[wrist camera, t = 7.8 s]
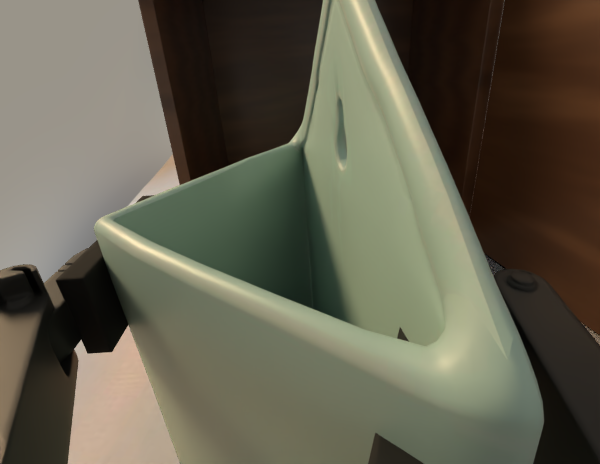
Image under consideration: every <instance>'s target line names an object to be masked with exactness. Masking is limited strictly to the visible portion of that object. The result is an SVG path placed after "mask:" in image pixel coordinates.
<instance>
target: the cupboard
mask: <svg viewBox="0 0 600 464" xmlns="http://www.w3.org/2000/svg"><path fill="white" fill-rule="evenodd" d="M138 1H139V5H140V10H141V14H142V19H143V23H144V28H145V32H146V37H147V41H148V45H149V49H150V54H151V59H152V63H153V68H154V72H155V76H156V81H157V85H158V89H159V94H160V98H161V103H162V107H163V112H164V116H165V121H166V125H167V130H168V134H169V139H170V143H171V148H172V152H173V156H174V161H175V165H176V170H177V174H178V179H179V183H180V185H182V184H184V183H187V182H189V181H192V180H194V179H197V178H199V177H202V176H204V175H207V174H209V173H212V172H214V171H217V170H219V169H222V168H224V167H227V166H229V165H232V164H234V163H237V162H239V161H241V160H244V159H246V158H249V157H252V156H254V155H257V154H260V153H263V152H266V151H269V150H272V149H274V148H277V147H280V146H282V145H285V144H288V143H289V142H290V141H291V140H292V138H293V137H294V136H295V134H296V133H297V131H298V130H299V128H300V126H301V124H302V122H303V118H304V113H305V107H306V102H307V96H308V91H309V85H310V79H311V73H312V66H313V59H314V52H315V46H316V40H317V35H318V29H319V23H320V16H321V10H322V4H323V0H138ZM375 1H376V4H377V7H378V9H379V11H380V14H381V16H382V18H383V20H384V23H385V25H386V27H387V30H388V32H389V35H390V37H391V39H392V42H393V44H394V47H395V49H396V51H397V54H398V56H399V58H400V61H401V63H402V65H403V67H404V69H405V72H406V74H407V76H408V78H409V80H410V82H411V85H412V87H413V89H414V91H415V93H416V95H417V98H418V100H419V102H420V104H421V107H422V109H423V111H424V113H425V116H426V118H427V120H428V123H429V125H430V127H431V129H432V132H433V134H434V136H435V138H436V141H437V143H438V145H439V148H440V150H441V152H442V154H443V157H444V159H445V161H446V163H447V166H448V168H449V170H450V173H451V175H452V178H453V180H454V182H455V185H456V187H457V189H458V192H459V194H460V196H461V199H462V201H463V203H464V206H465V208H466V211H467V213H468V215H469V217H470V211H471V205H472V198H473V192H474V186H475V180H476V174H477V167H478V161H479V155H480V149H481V143H482V136H483V130H484V124H485V118H486V111H487V105H488V99H489V93H490V87H491V80H492V74H493V68H494V62H495V56H496V49H497V43H498V37H499V31H500V24H501V18H502V12H503V6H504V0H375Z"/></svg>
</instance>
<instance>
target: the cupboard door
mask: <svg viewBox="0 0 600 464" xmlns="http://www.w3.org/2000/svg"><path fill="white" fill-rule="evenodd" d="M470 220H471V223H472V225H473V228H474V230H475V233H476V235H477V237H478V240H479V242H480V245H481V247H482V250H483V252H484V253H485V254H487V255H488V256H489V257H491V258H492V259H494V260H495V261H496V262H498V263H499V264H501V265H502V266H503V267H505V268H506V269H518V270H519V269H521V270H526V271H529V272H532V273H534V274H536V275H538V276H540V277H542V278H544V279H545V280H546V281H547V282H548V283H549V284H550V285H551V286H552V287H553V289H554V290H555V291H556V292H557V294H558V295H559V296H560V297H561V299H562V300H563V301H564V302H565V303H566V305H567V306H568V307H569V308H570V310H571V311H572V312H573V313H574V314H575V316H576V317H577V318H578V319H579V321H581V322H582V323H583V324H585V325H586V326H588V327H589V328H590V329H592V330H593V331H595V332H596V333H597V334H599V335H600V0H505V1H504V7H503V14H502V20H501V26H500V32H499V38H498V45H497V51H496V57H495V63H494V69H493V76H492V82H491V88H490V94H489V100H488V107H487V113H486V119H485V125H484V131H483V138H482V144H481V150H480V156H479V163H478V169H477V175H476V181H475V187H474V194H473V200H472V206H471V212H470Z"/></svg>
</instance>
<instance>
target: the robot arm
mask: <svg viewBox="0 0 600 464" xmlns="http://www.w3.org/2000/svg"><path fill="white" fill-rule="evenodd" d="M153 196H154V195H153ZM150 197H152V196H142V197H141V198H140V199H139V200H138V201H137V202H136V203H138V202H140V201H142V200H145V199H147V198H150ZM494 279H495V281H496V284H497V286H498V288H499V290H500V292H501V295H502V297H503V299H504V301H505V304H506V306H507V308H508V310H509V312H510V315H511V317H512V319H513V321H514V323H515V326H516V328H517V330H518V332H519V335H520V337H521V340H522V342H523V345H524V347H525V350H526V352H527V355H528V357H529V360H530V363H531V365H532V368H533V371H534V374H535V377H536V379H537V383H538V386H539V390H540V394H541V398H542V401H543V412H544V424H543V429H542V432H541V436H540V440H539V444H538V447H537V451H536V455H535V458H534V462H533V464H600V345H599V344H598V343H597V342H596V340H595V339H594V338H593V337H592V335H591V334H590V333H589V332H588V330H587V329H586V328H585V327H584V326H583V324H582V323H581V322H580V321H579V319H578V318H577V317H576V316H575V314H574V313H573V312H572V311H571V310H570V308H569V307H568V306H567V305H566V303H565V302H564V301H563V300H562V299H561V297H560V296H559V295H558V294H557V292H556V291H555V290H554V289H553V287H552V286H551V285H550V284H549V283H548V282H547V281H546V280H545V279H544V278H542V277H540V276H538V275H536V274H534V273H532V272H529V271H526V270H521V269H519V270H518V269H503V270H501V271H498V272H496V274H495V275H494ZM127 326H128V322H127V319H126V317H125V314H124V311H123V309H122V306H121V304H120V301H119V298H118V296H117V293H116V290H115V288H114V285H113V283H112V280H111V277H110V274H109V271H108V269H107V266H106V263H105V260H104V257H103V254H102V252H101V249H100V246H99V243H98V240H97V241H96V242H95V243H94V244H92V245H91V246H90V247H89V248H87V249H85V250H83V251H81V252H80V253H78V254H76V255H74V256H73V257H72V258H71V259H70V260H69V261H68V262H66V263H65V265H63V266H62V267H61V268H60V269H59V270H58V272H56V273H55V274H54V275H52V276H51V278H49V279H48V280H47V281H46V282H45V283H43V281H42V279H41V276H40V274H39V272H38V270H37V268H36V266H33V265H24V264H23V265H18V266H13V267H9V268H6V269H3V270H0V464H67V463H68V454H69V445H70V435H71V426H72V416H73V407H74V398H75V388H76V379H77V369H78V357H77V355H76V352H75V350H74V348H75V347H76V346H77V344H78V343H79V342H80V340H81V339H82V342H83V344H84V346H85V349H86V351H87V353H102V352H112V351H113V349H114V348H115V346H116V344H117V343H118V341H119V339H120V338H121V336H122V334H123V333H124V331H125V329H126V328H127ZM397 339H401V340H404V341H408V342H409V340H408V339H407V337H406V336H405V334H404V332H403V331H402V329H401V327H400V328H399V332H398V337H397ZM368 464H424V463H422V462H421V461H419V460H418V459H416V458H415V457H413V456H412V455H410V454H408V453H407V452H405V451H404V450H402V449H401V448H399V447H398V446H396V445H394V444H393V443H391V442H390V441H388V440H387V439H385V438H383V437H382V436H380V435H379V434H377V433H375V436H374V440H373V444H372V449H371V453H370V457H369V462H368Z"/></svg>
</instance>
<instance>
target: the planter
mask: <svg viewBox="0 0 600 464" xmlns="http://www.w3.org/2000/svg"><path fill="white" fill-rule="evenodd" d="M94 231H95V235H96V237H97V240H98V243H99V246H100V249H101V252H102V254H103V257H104V260H105V263H106V266H107V269H108V271H109V274H110V277H111V280H112V283H113V285H114V288H115V290H116V293H117V296H118V298H119V301H120V304H121V306H122V309H123V311H124V314H125V317H126V319H127V322H128V325H129V327H130V330H131V332H132V335H133V338H134V340H135V343H136V346H137V348H138V351H139V353H140V356H141V359H142V361H143V364H144V367H145V369H146V372H147V375H148V377H149V380H150V382H151V385H152V388H153V390H154V393H155V396H156V399H157V401H158V404H159V407H160V409H161V412H162V415H163V418H164V420H165V423H166V426H167V429H168V431H169V434H170V437H171V439H172V442H173V445H174V448H175V450H176V453H177V456H178V459H179V461H180V464H368V462H369V457H370V453H371V449H372V444H373V440H374V436H375V433H377V434H379V435H380V436H382V437H383V438H385V439H387V440H388V441H390V442H391V443H393V444H394V445H396V446H398V447H399V448H401V449H402V450H404V451H405V452H407V453H408V454H410V455H412V456H413V457H415V458H416V459H418V460H419V461H421V462H422V463H424V464H533V462H534V458H535V455H536V451H537V447H538V444H539V440H540V436H541V432H542V429H543V424H544V412H543V401H542V398H541V394H540V390H539V386H538V383H537V379H536V377H535V374H534V371H533V368H532V365H531V363H530V360H529V357H528V355H527V352H526V350H525V347H524V345H523V342H522V340H521V337H520V335H519V332H518V330H517V328H516V326H515V323H514V321H513V319H512V317H511V315H510V312H509V310H508V308H507V306H506V304H505V301H504V299H503V297H502V295H501V292H500V290H499V288H498V286H497V284H496V281H495V279H494V276H493V274H492V272H491V269H490V267H489V264H488V262H487V259H486V257H485V254H484V252H483V250H482V247H481V245H480V242H479V240H478V237H477V235H476V233H475V230H474V228H473V225H472V223H471V220H470V218H469V215H468V213H467V211H466V208H465V206H464V203H463V201H462V199H461V196H460V194H459V192H458V189H457V187H456V185H455V182H454V180H453V178H452V175H451V173H450V170H449V168H448V166H447V163H446V161H445V159H444V157H443V154H442V152H441V150H440V148H439V145H438V143H437V141H436V138H435V136H434V134H433V132H432V129H431V127H430V125H429V123H428V120H427V118H426V116H425V113H424V111H423V109H422V107H421V104H420V102H419V100H418V98H417V95H416V93H415V91H414V89H413V87H412V85H411V82H410V80H409V78H408V76H407V74H406V72H405V69H404V67H403V65H402V63H401V61H400V58H399V56H398V54H397V51H396V49H395V47H394V44H393V42H392V39H391V37H390V35H389V32H388V30H387V27H386V25H385V23H384V20H383V18H382V16H381V14H380V11H379V9H378V7H377V4H376V1H375V0H323V4H322V10H321V16H320V23H319V29H318V35H317V40H316V46H315V52H314V59H313V66H312V73H311V79H310V85H309V91H308V96H307V102H306V107H305V113H304V118H303V122H302V124H301V126H300V128H299V130H298V131H297V133H296V134H295V136H294V137H293V138H292V140H291V141H290V142H289V143H288V144H285V145H282V146H280V147H277V148H274V149H272V150H269V151H266V152H263V153H260V154H257V155H254V156H252V157H249V158H246V159H244V160H241V161H239V162H237V163H234V164H232V165H229V166H227V167H224V168H222V169H219V170H217V171H214V172H212V173H209V174H207V175H204V176H202V177H199V178H197V179H194V180H192V181H189V182H187V183H184V184H182V185H179V186H177V187H174V188H171V189H169V190H167V191H164V192H162V193H159V194H157V195H154V196H152V197H150V198H147V199H145V200H142V201H140V202H138V203H135V204H133V205H130V206H128V207H126V208H123V209H121V210H118V211H116V212H114V213H111V214H109V215H107V216H104V217H102V218H100V219H99V220H98V221H97V222H96V224H95V226H94ZM400 327H401V329H402V331H403V332H404V334H405V336H406V337H407V339H408V340H409V342H408V341H404V340H401V339H397V337H398V332H399V328H400Z"/></svg>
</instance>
